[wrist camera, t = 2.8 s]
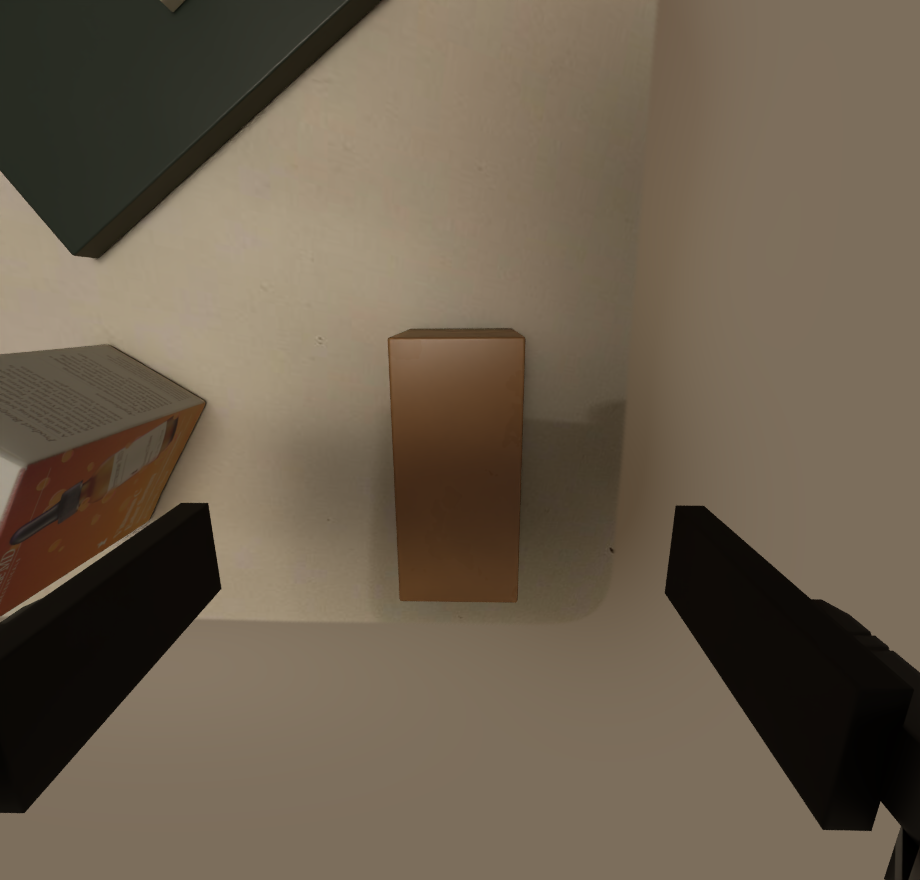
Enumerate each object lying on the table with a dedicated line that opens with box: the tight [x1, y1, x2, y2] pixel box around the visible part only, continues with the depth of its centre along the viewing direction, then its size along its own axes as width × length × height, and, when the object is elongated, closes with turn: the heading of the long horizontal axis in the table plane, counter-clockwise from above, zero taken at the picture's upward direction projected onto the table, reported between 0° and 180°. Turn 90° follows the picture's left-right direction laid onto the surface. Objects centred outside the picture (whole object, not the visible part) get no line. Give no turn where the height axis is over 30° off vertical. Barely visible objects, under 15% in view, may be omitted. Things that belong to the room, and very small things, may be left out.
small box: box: [0, 344, 205, 616], centre depth 20 cm, size 8×6×10 cm
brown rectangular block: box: [388, 328, 525, 602], centre depth 22 cm, size 11×5×6 cm, turn 0°
